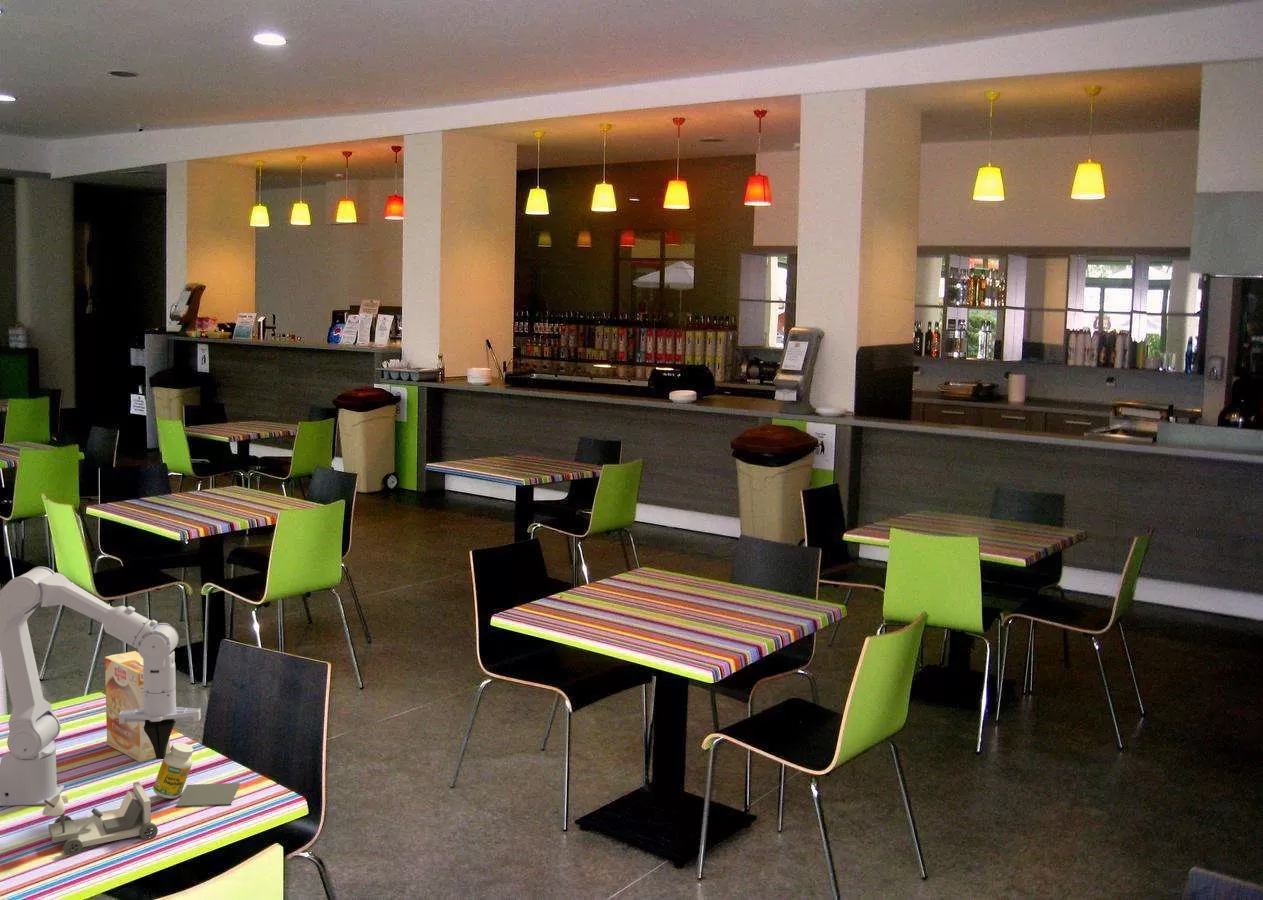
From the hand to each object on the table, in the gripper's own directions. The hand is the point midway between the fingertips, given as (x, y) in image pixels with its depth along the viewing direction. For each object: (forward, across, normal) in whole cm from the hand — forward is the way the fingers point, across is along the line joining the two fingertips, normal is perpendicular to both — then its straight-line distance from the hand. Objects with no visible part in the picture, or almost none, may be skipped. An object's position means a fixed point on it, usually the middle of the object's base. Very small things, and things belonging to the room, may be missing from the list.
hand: (161, 757), depth 227 cm
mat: (+8, +9, 0) cm, 12 cm away
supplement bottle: (+7, +1, 0) cm, 7 cm away
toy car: (+9, -7, -16) cm, 20 cm away
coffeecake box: (+8, -10, +26) cm, 29 cm away
